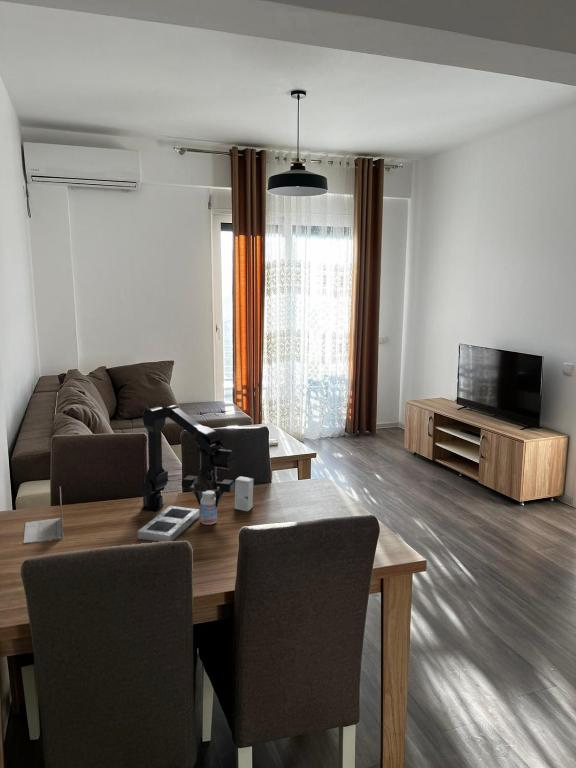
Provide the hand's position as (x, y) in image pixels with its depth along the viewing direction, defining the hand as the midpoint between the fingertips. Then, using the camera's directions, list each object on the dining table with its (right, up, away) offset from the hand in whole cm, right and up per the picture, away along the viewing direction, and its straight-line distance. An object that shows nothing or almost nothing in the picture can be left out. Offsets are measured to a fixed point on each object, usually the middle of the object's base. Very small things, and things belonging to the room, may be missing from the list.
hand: (208, 506), depth 212 cm
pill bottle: (0, -6, +1) cm, 6 cm away
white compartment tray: (-13, -7, -5) cm, 15 cm away
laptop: (-56, -7, -9) cm, 58 cm away
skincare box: (+12, -4, +14) cm, 19 cm away
